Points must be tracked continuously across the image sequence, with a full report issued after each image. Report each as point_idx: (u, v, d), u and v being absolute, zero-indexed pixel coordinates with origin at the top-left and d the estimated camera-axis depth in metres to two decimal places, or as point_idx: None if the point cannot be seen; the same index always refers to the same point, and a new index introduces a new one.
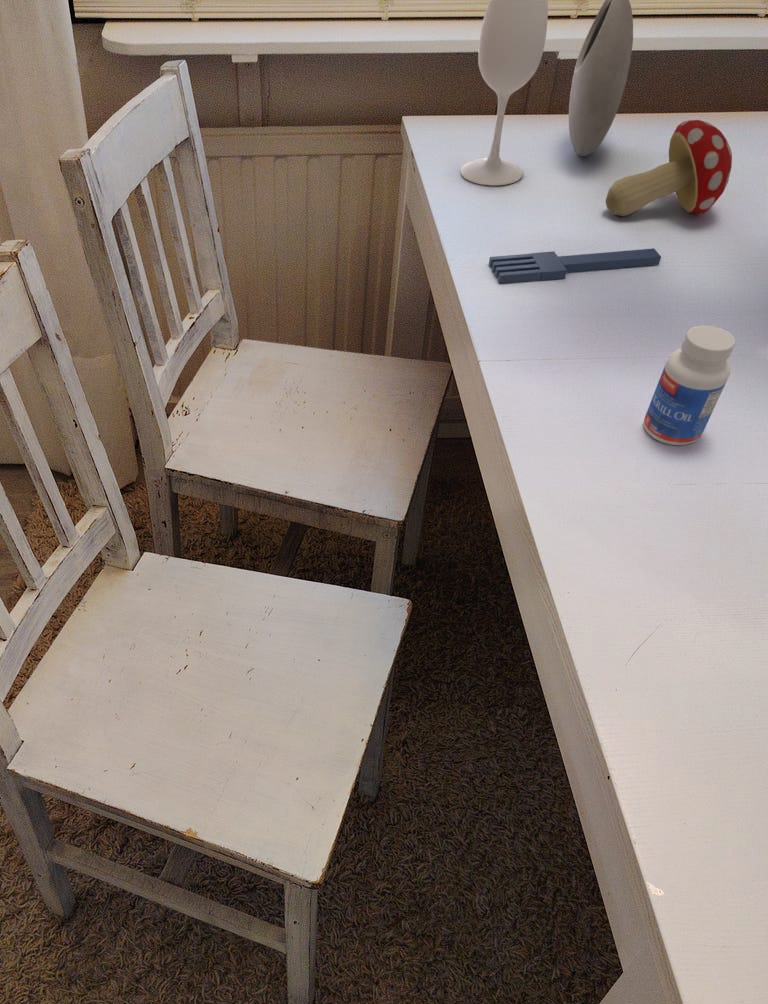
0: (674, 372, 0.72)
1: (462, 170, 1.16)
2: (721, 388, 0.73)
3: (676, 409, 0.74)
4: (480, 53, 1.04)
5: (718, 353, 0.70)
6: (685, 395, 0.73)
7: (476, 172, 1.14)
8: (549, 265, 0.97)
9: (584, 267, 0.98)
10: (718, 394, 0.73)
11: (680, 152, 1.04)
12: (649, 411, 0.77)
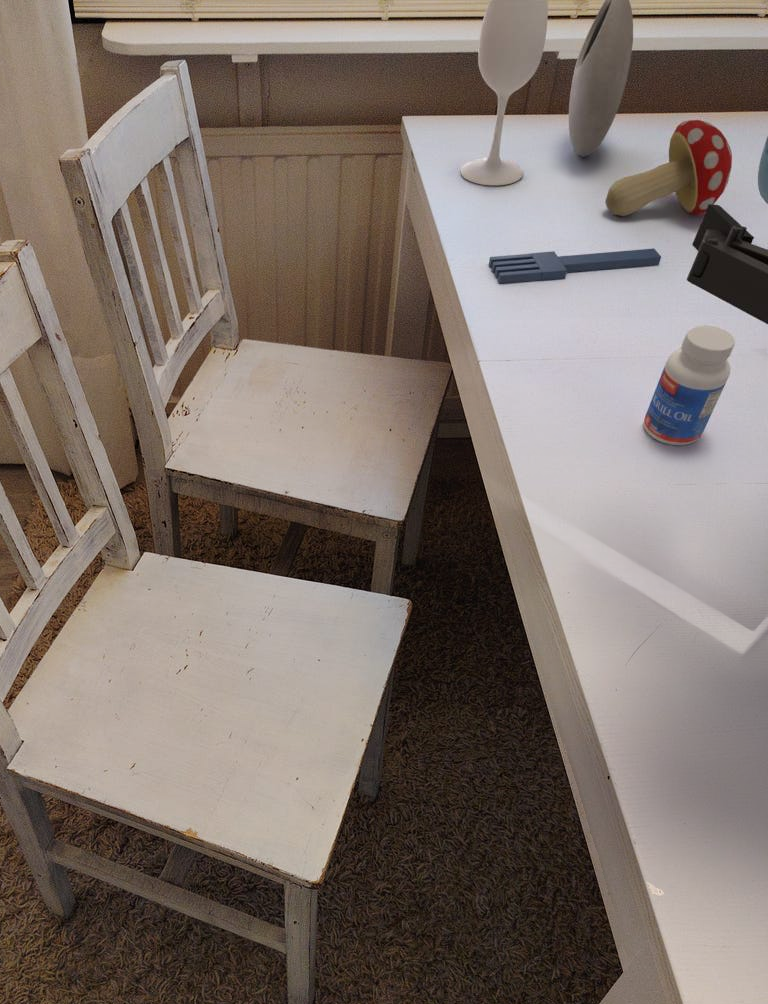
0: (674, 372, 0.72)
1: (462, 170, 1.16)
2: (721, 388, 0.73)
3: (676, 409, 0.74)
4: (480, 53, 1.04)
5: (717, 353, 0.70)
6: (685, 395, 0.73)
7: (476, 172, 1.14)
8: (549, 265, 0.97)
9: (584, 267, 0.98)
10: (718, 394, 0.73)
11: (680, 152, 1.04)
12: (649, 411, 0.77)
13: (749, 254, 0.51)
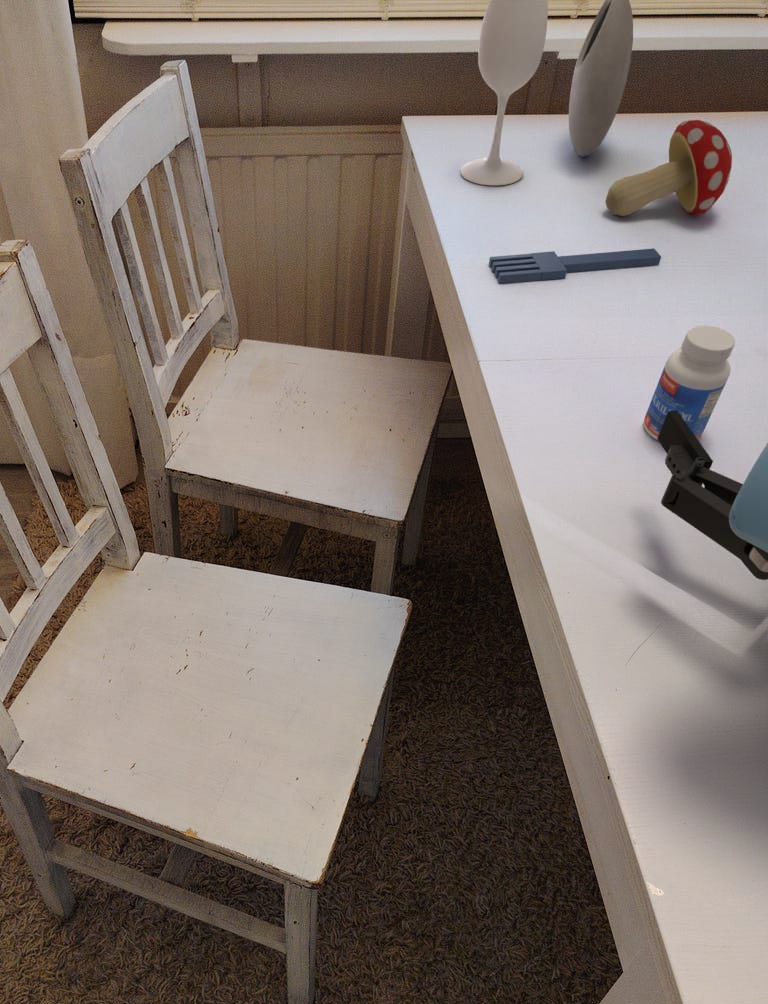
0: (674, 372, 0.72)
1: (462, 170, 1.16)
2: (721, 388, 0.73)
3: (676, 409, 0.74)
4: (480, 53, 1.04)
5: (718, 353, 0.70)
6: (685, 395, 0.73)
7: (476, 172, 1.14)
8: (549, 265, 0.97)
9: (584, 267, 0.98)
10: (718, 394, 0.73)
11: (680, 152, 1.04)
12: (649, 411, 0.77)
13: (712, 485, 0.60)
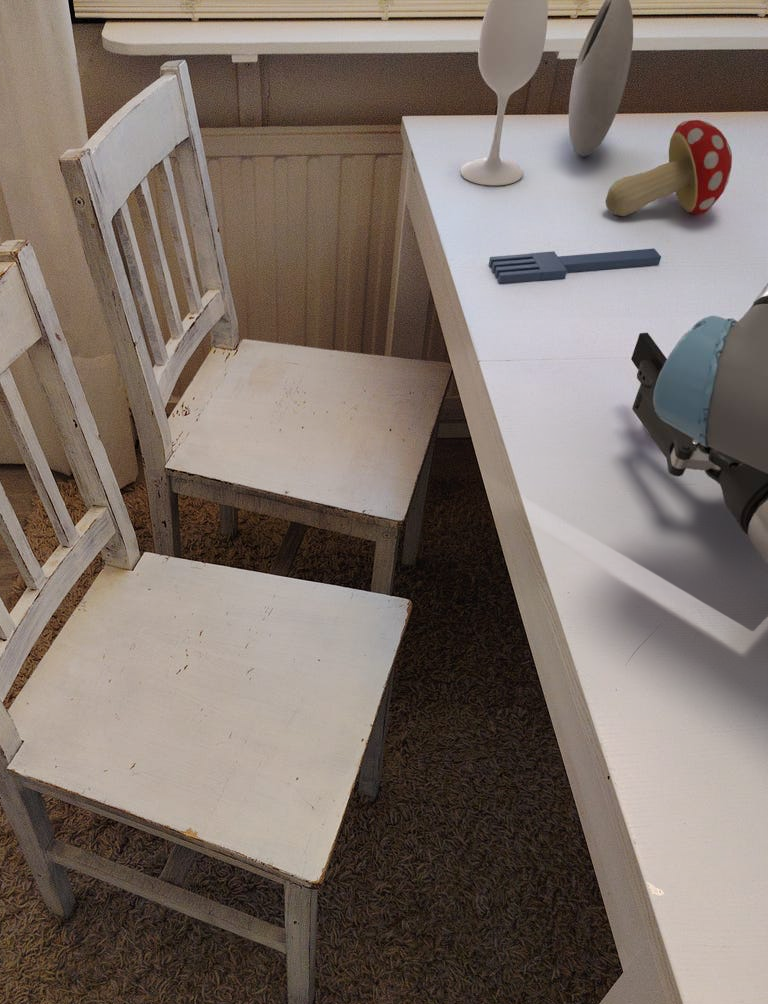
0: None
1: (462, 170, 1.16)
2: None
3: None
4: (480, 53, 1.04)
5: None
6: None
7: (476, 172, 1.14)
8: (549, 265, 0.97)
9: (584, 267, 0.98)
10: None
11: (680, 152, 1.04)
12: None
13: None
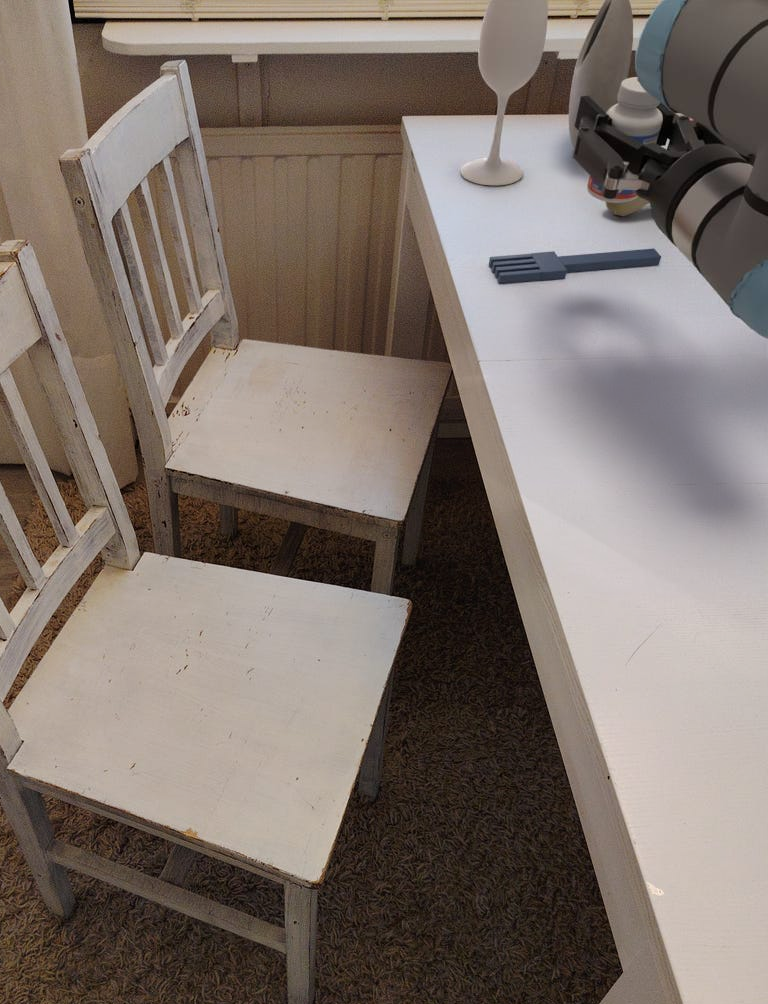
0: None
1: (462, 170, 1.16)
2: (654, 136, 0.78)
3: None
4: (480, 53, 1.04)
5: (648, 95, 0.76)
6: None
7: (476, 172, 1.14)
8: (549, 265, 0.97)
9: (584, 267, 0.98)
10: None
11: None
12: None
13: (604, 134, 0.77)
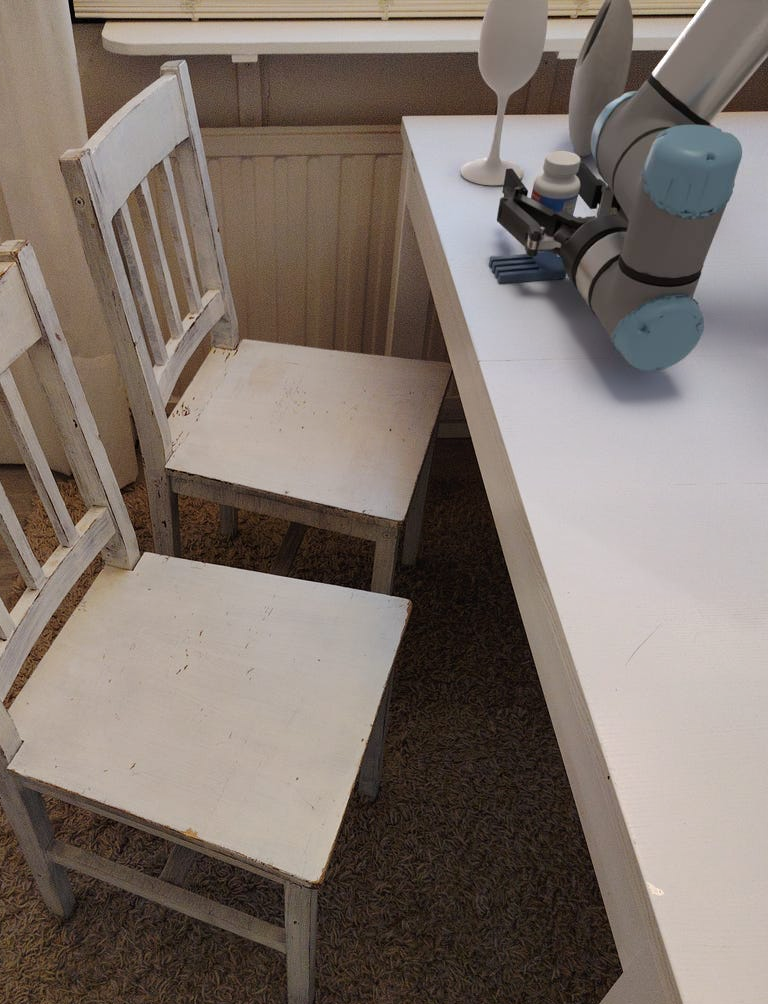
0: (538, 187, 0.97)
1: (462, 170, 1.16)
2: (573, 199, 0.97)
3: None
4: (480, 53, 1.04)
5: (566, 167, 0.94)
6: (547, 204, 0.97)
7: (476, 172, 1.14)
8: (549, 265, 0.97)
9: None
10: (572, 204, 0.98)
11: None
12: None
13: (522, 203, 0.95)
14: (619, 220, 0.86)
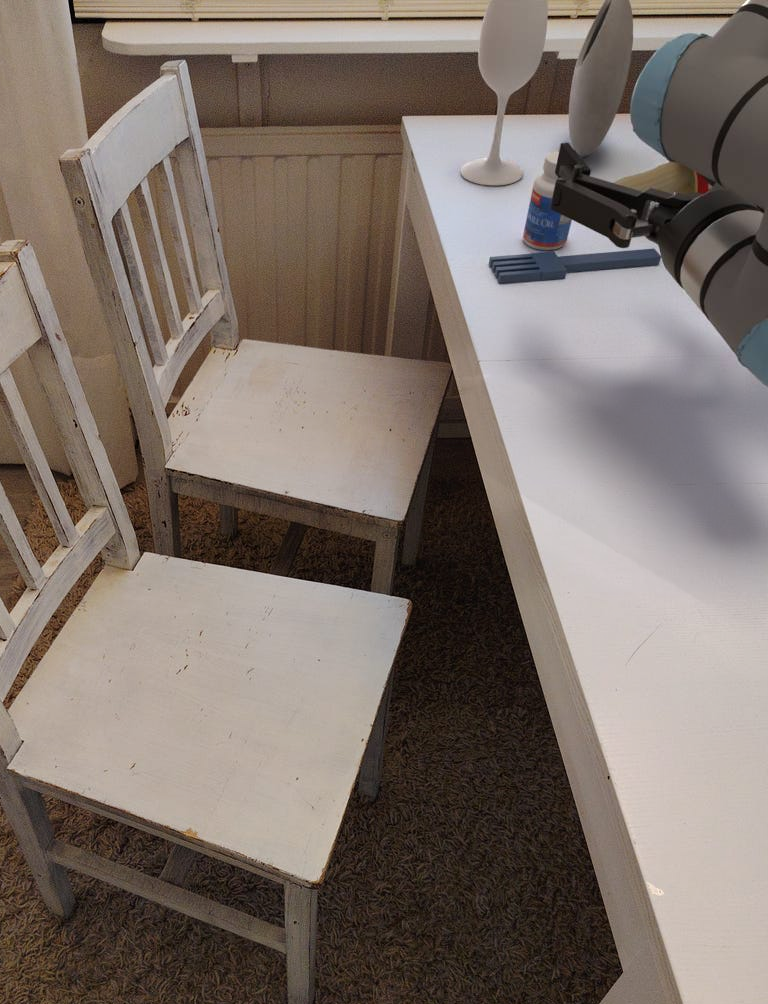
0: (538, 187, 0.97)
1: (462, 170, 1.16)
2: None
3: (542, 217, 0.99)
4: (480, 53, 1.04)
5: None
6: (547, 205, 0.97)
7: (476, 172, 1.14)
8: (549, 265, 0.97)
9: (584, 267, 0.98)
10: None
11: None
12: (525, 225, 1.02)
13: (588, 185, 0.75)
14: (739, 195, 0.66)
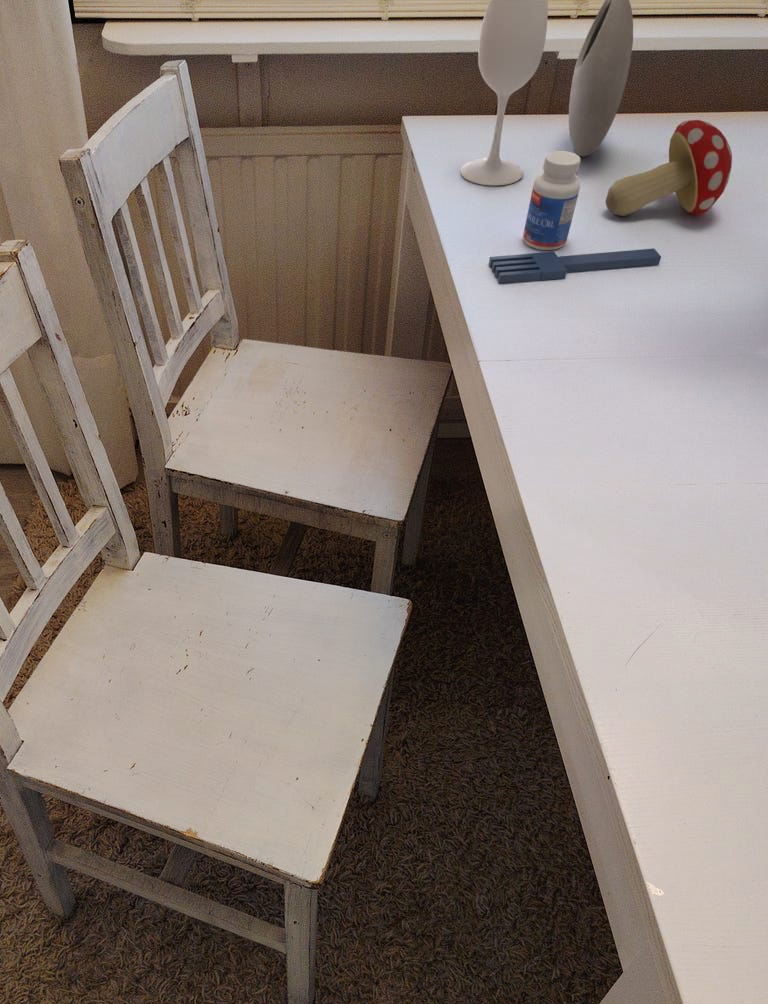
0: (538, 187, 0.97)
1: (462, 170, 1.16)
2: (573, 199, 0.97)
3: (542, 217, 0.99)
4: (480, 53, 1.04)
5: (566, 167, 0.94)
6: (547, 205, 0.97)
7: (476, 172, 1.14)
8: (549, 265, 0.97)
9: (584, 267, 0.98)
10: (572, 204, 0.98)
11: (680, 152, 1.04)
12: (525, 225, 1.02)
13: None
14: None
